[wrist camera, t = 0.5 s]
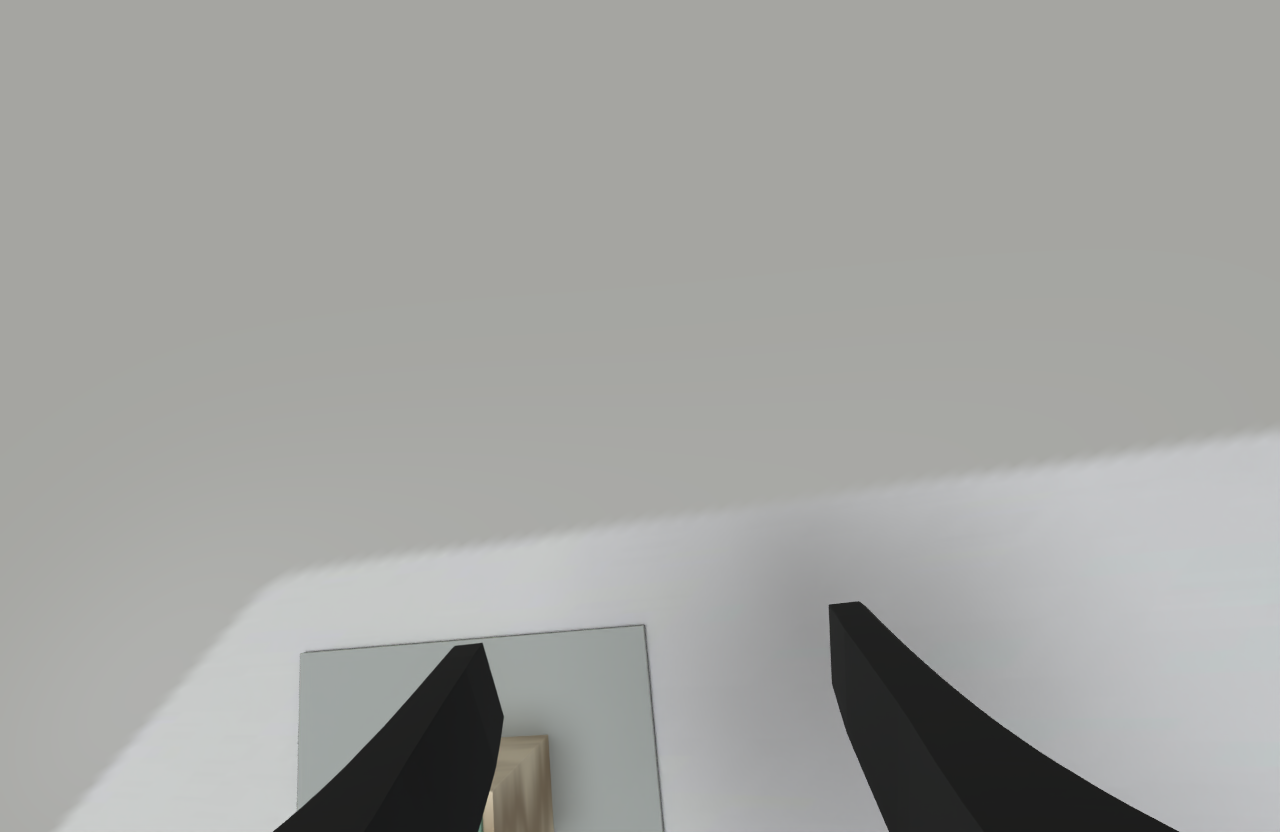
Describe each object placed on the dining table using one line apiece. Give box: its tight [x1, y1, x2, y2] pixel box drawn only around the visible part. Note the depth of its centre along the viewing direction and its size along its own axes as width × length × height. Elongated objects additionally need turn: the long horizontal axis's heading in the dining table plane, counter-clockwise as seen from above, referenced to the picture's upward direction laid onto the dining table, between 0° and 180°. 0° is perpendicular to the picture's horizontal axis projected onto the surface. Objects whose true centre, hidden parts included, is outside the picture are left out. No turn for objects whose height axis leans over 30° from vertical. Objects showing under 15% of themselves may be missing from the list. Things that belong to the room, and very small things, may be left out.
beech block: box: [478, 735, 554, 832], centre depth 30 cm, size 5×4×8 cm
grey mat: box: [297, 625, 664, 832], centre depth 35 cm, size 20×22×1 cm
